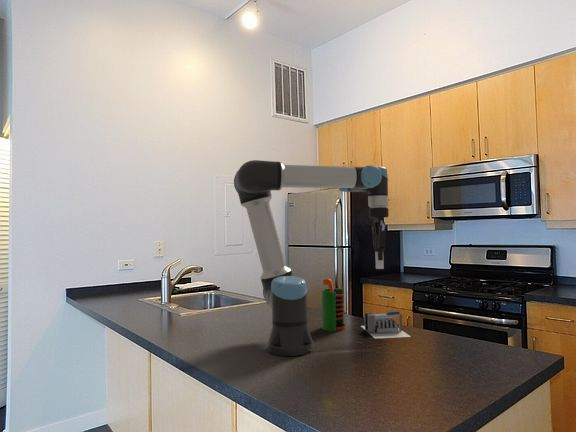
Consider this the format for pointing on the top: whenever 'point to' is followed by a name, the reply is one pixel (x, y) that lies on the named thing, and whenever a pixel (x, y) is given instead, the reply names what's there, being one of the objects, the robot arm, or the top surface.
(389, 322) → the heatsink
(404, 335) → the board
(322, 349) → the top surface
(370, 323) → the mount
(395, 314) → the grey-blue slender bar
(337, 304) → the motor
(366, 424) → the top surface
